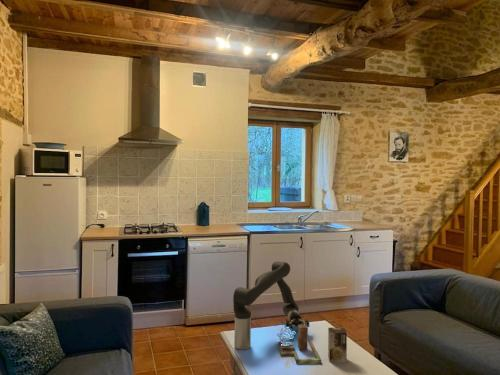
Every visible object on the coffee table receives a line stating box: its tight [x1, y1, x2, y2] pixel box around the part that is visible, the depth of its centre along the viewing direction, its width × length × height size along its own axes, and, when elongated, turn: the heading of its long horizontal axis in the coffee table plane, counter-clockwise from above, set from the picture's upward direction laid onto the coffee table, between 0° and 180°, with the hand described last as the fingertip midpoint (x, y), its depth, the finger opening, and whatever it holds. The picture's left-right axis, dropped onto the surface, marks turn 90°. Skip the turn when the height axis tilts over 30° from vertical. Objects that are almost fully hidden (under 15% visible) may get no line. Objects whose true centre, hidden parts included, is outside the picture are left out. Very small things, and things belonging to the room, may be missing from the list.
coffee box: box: [327, 327, 348, 364], centre depth 195 cm, size 9×6×16 cm
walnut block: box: [297, 324, 309, 352], centre depth 208 cm, size 4×4×13 cm
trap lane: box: [277, 340, 322, 365], centre depth 203 cm, size 20×24×2 cm
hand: (299, 327), depth 219 cm, fingers open, 8 cm apart
